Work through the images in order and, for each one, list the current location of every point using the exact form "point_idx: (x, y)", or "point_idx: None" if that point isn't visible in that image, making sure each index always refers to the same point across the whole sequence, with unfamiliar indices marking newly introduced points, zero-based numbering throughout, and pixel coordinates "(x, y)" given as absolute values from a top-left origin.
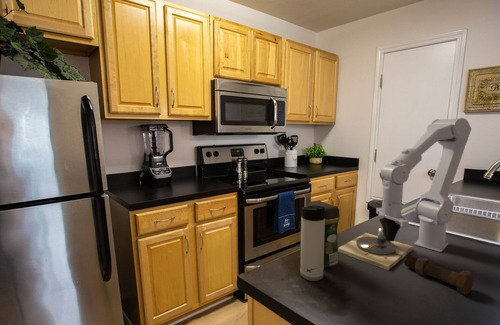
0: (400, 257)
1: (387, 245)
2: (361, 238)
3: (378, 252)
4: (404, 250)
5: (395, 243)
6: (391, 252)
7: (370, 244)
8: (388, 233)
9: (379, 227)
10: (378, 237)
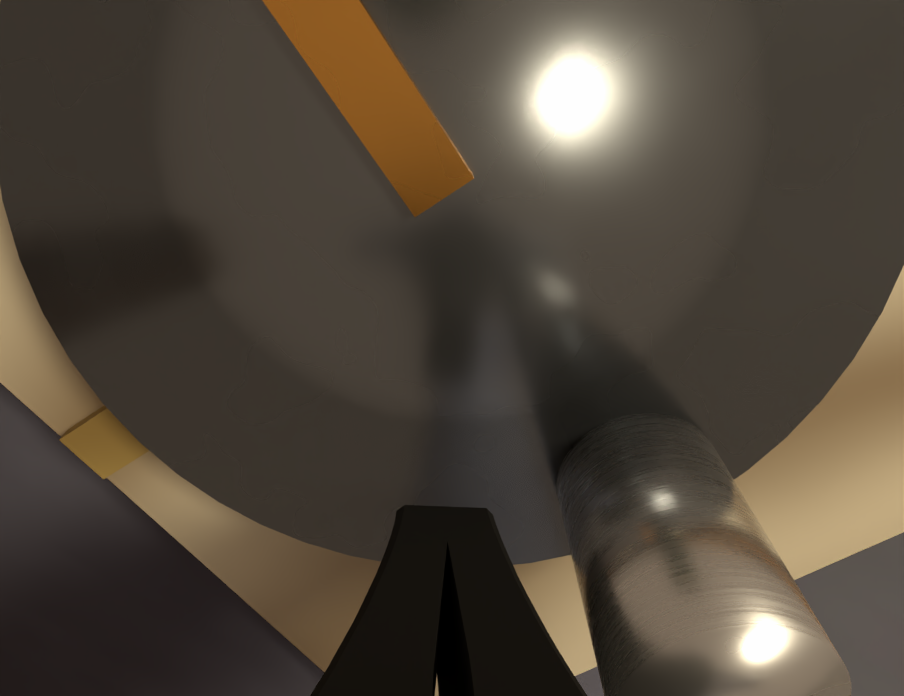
0: (53, 411)
1: (355, 427)
2: (874, 46)
3: (5, 11)
4: (281, 595)
5: (549, 619)
6: (68, 328)
7: (452, 68)
8: (328, 666)
9: (846, 687)
10: (673, 447)
